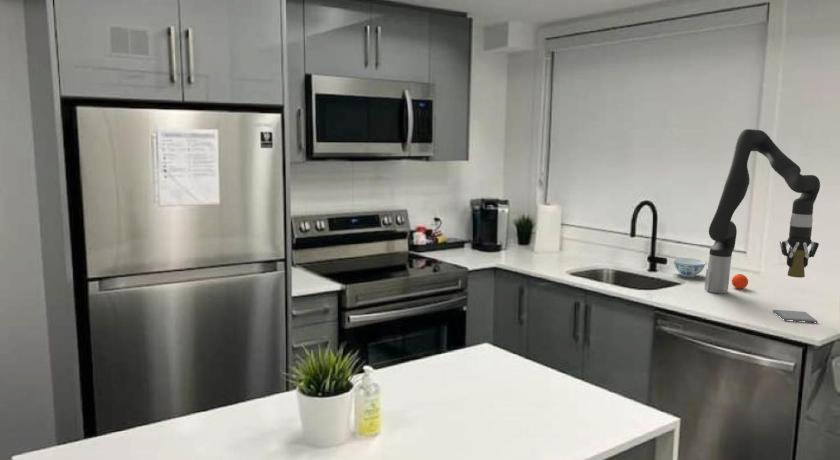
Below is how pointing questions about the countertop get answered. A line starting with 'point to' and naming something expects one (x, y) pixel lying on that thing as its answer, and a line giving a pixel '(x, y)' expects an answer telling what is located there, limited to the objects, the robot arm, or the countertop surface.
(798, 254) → the cork
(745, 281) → the clementine
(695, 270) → the chinaware
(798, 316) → the trivet
